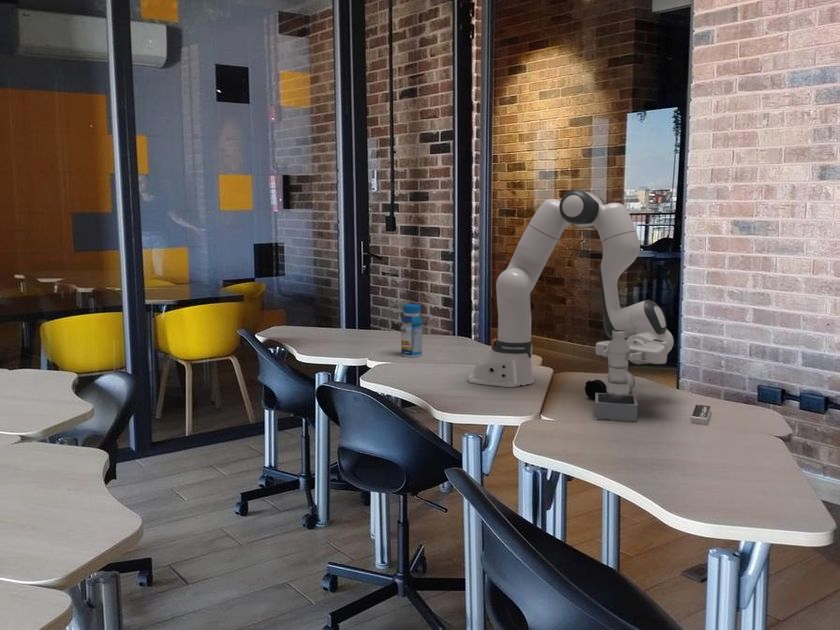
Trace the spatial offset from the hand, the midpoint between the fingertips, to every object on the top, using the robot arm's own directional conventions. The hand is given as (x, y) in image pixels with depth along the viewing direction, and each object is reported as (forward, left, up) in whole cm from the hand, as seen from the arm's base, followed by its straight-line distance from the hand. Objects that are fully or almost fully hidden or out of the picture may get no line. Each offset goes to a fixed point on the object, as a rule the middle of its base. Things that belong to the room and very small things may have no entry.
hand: (617, 355), depth 229 cm
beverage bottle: (-76, +68, -18) cm, 103 cm away
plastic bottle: (+1, +1, -13) cm, 13 cm away
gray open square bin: (0, +1, -18) cm, 18 cm away
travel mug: (+5, +32, -14) cm, 35 cm away
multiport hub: (+24, +4, -18) cm, 31 cm away
